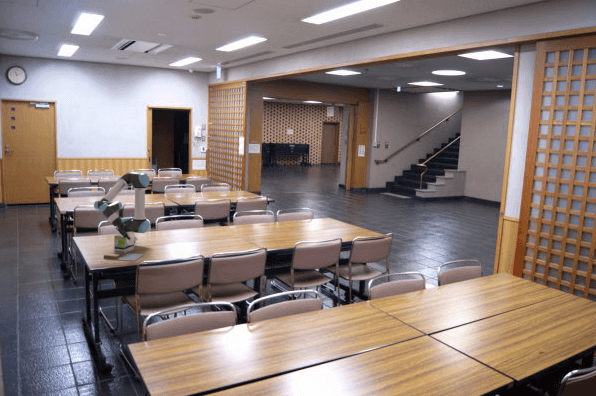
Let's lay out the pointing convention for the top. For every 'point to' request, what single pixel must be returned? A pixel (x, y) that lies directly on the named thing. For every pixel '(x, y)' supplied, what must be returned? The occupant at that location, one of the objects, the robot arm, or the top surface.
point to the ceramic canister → (131, 237)
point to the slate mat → (130, 257)
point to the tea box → (122, 244)
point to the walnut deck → (114, 254)
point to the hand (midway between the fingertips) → (134, 241)
